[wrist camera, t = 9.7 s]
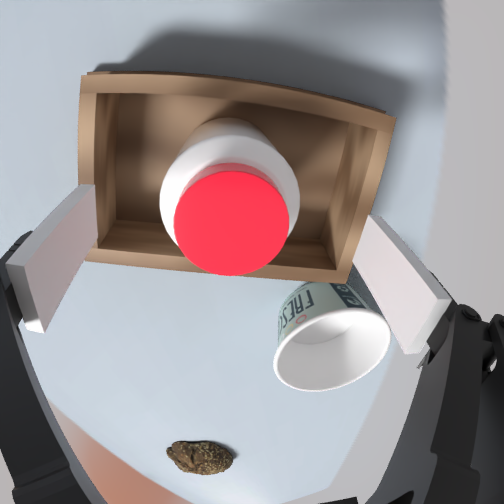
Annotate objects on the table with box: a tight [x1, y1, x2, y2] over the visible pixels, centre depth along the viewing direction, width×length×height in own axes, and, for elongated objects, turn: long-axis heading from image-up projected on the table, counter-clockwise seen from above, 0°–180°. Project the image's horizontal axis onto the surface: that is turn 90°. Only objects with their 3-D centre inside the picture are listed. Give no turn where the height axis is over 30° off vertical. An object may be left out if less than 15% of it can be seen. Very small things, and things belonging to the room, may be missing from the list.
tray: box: [78, 71, 396, 284], centre depth 23 cm, size 14×24×6 cm, turn 81°
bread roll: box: [166, 441, 233, 475], centre depth 49 cm, size 13×12×5 cm
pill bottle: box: [159, 117, 300, 276], centre depth 20 cm, size 8×8×11 cm
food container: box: [273, 282, 391, 391], centre depth 32 cm, size 12×12×6 cm
